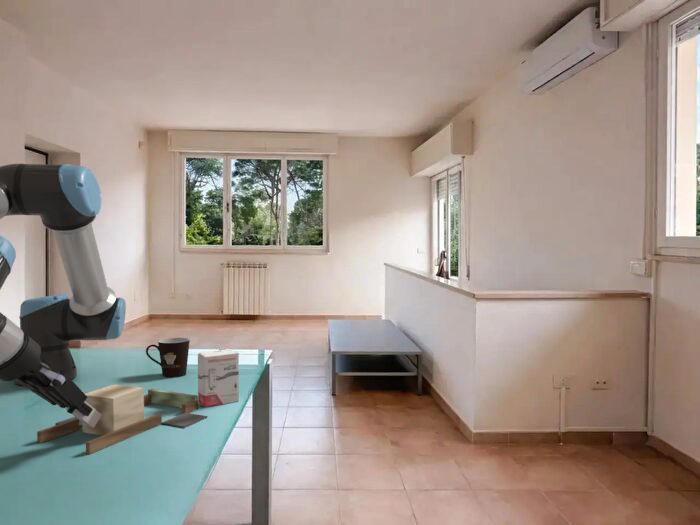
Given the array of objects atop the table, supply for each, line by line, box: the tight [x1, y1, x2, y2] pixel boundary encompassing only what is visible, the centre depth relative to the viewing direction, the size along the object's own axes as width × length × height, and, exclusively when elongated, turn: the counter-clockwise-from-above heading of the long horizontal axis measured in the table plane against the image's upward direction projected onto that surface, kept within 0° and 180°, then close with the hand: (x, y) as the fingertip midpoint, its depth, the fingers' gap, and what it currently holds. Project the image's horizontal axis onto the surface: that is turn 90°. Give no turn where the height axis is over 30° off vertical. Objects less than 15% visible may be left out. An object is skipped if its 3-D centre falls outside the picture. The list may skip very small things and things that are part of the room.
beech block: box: [82, 384, 145, 436], centre depth 104 cm, size 8×8×8 cm
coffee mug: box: [145, 337, 191, 379], centre depth 148 cm, size 12×9×10 cm
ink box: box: [197, 348, 240, 408], centre depth 121 cm, size 9×5×12 cm, turn 124°
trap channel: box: [36, 388, 208, 455], centre depth 106 cm, size 26×28×3 cm
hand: (95, 420), depth 99 cm, fingers closed
